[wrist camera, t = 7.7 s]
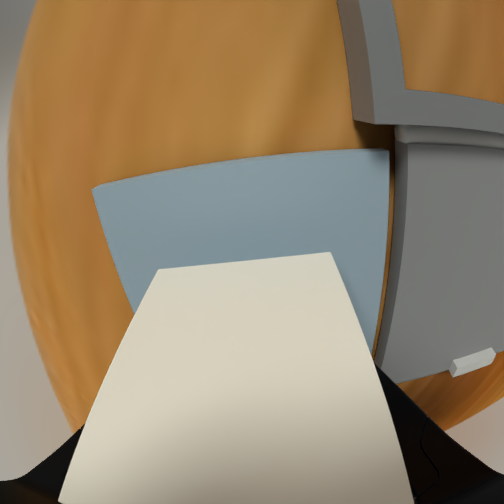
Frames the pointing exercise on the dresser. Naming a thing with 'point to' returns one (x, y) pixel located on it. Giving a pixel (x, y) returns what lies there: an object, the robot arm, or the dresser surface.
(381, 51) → the grey open frame
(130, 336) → the block
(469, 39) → the dresser surface
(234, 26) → the dresser surface
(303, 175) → the mat
